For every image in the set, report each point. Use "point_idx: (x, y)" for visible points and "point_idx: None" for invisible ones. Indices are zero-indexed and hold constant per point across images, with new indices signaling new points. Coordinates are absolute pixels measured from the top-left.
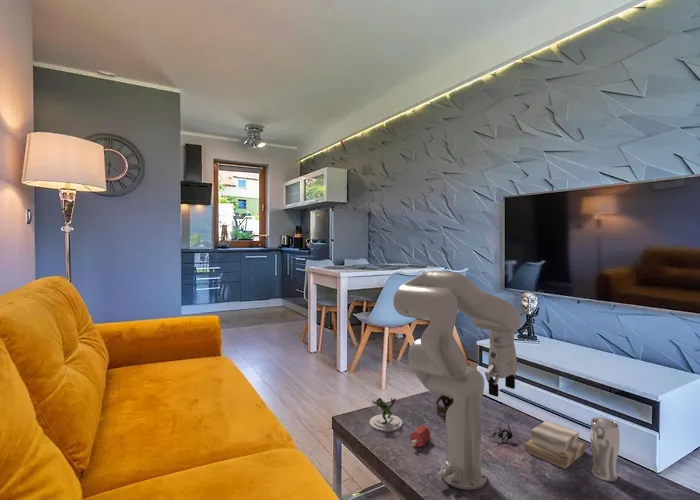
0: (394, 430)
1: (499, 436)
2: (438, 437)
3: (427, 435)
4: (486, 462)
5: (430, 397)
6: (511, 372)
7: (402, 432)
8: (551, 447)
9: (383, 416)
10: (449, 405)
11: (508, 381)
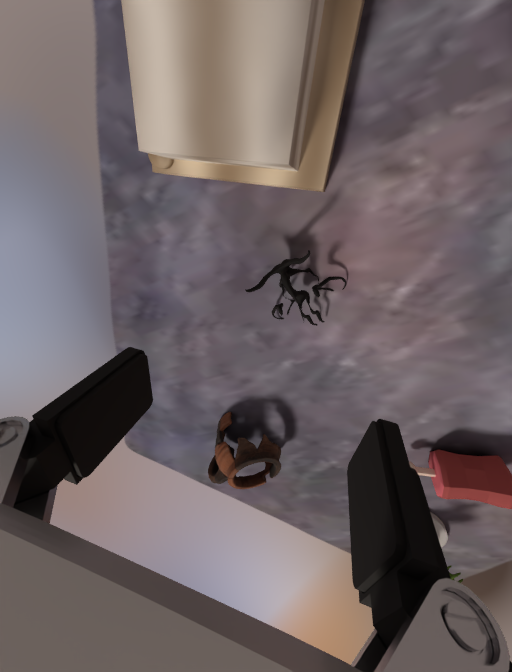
0: None
1: (308, 297)
2: None
3: (462, 466)
4: (497, 277)
5: None
6: (14, 632)
7: None
8: (316, 34)
9: None
10: (266, 460)
11: (116, 419)
